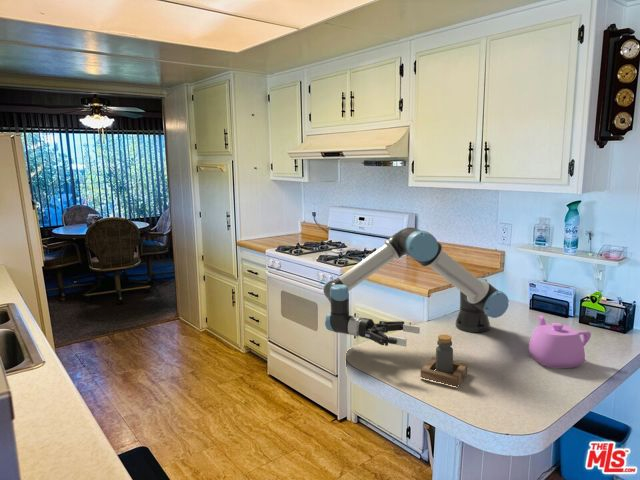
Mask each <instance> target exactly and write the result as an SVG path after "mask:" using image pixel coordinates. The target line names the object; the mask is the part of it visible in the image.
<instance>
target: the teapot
mask: <svg viewBox="0 0 640 480" xmlns="http://www.w3.org/2000/svg"><path fill="white" fill-rule="evenodd" d="M537 318H538V324H539V325H537V326H536V328H535V329H534V331H533V333H532V334H531V337H530V338H529V339H530V340H529V344H528V351H529V353H530V356H532V358H533V359H534V360H535V362H537V363H539V364H540V365H542V366H544V367H548V368H553V369H554V368H558V369H569V368H577V367H581V366H582V364H583V363H584V362H585V359H586V354H585V353H586V352H585V346H586V345H587V343H588V342H589V341H590V339H591V336H592V332H590V331H589V330H586V329H585V330H575V329H573V328H571V326H568V325H564V324H563V323H560V322H552V323H551V324H547V323H546V319H545V317H544V316H543V315H542V314H537ZM580 335H583V336H582V338H581V336H580Z"/></svg>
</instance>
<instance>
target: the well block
mask: <svg viewBox="0 0 640 480" xmlns="http://www.w3.org/2000/svg"><path fill="white" fill-rule="evenodd" d="M468 366H469V365H468V363H463V362H459V361H454V360H453V372H454V373H453V375H452V374H447V373H443V372H439V371H436V370H435V369H436V356H432V357H431V358H430V359H429V360H428V361H427V362H426V364H424V366H423V367H422V368H421V369H420V373H419V374H420V375H419V376H420V377H422V378H425V379H429V380H433V381H436V382H441V383H444V384H448V385H452V386H456V387H457V386H458V385H459V384H460V382H461V381H462V379H463V378H464V376H465V375H466V374H467V375H468V373H467V372H469V371H468V370H469V369H468V368H469V367H468ZM434 370H435V371H434ZM467 375H466V376H467ZM466 376H465V377H466ZM420 377H419V378H420ZM464 379H465V378H464ZM464 379H463V380H464ZM462 382H463V381H462ZM462 382H461V383H462ZM460 385H461V384H460ZM460 385H459V386H460Z"/></svg>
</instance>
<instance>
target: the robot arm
mask: <svg viewBox="0 0 640 480" xmlns="http://www.w3.org/2000/svg"><path fill="white" fill-rule="evenodd" d="M405 255H406V256H408V257H410V258H412V259H413V260H414V261H416V263H418V264H420V265H421V266H422V267H423V268H424V267H425V268H427V267H429V268H430V269H432V270H433V271H434V272H436V273H437V274H438V275H440V276H441V277H442V278H443V279H444V280H446V281H447V282H448V283H449V284H451V285H452V286H453V287H455V288H456V289H457V290H458V291H460V292H459V311H458V314H457V316H456V319H455V327H456V328H457V329H459V330H461V331H462V332H463V331H464V332H468V333H469V332H470V333H485V332H488V331H489V330H491V329H490V328H491V322H490V319H489V318H492V319H497V318H499V317H502V316H503V315H504V314H505V313H506V312H507V310H508V307H509V298H508V296H507V294H506V293H505V292H503V291H502V290H499V289H497V288H496V287H494V286H493V285H492V284H491V283H489V281H488V280H487V279H486V278H483V277H476V276H475V275H474V274H472V273H471V272H470V271H469V270H467V269H466V268H465V267H464V266H463V265H462V264H460V263H459V262H457V260H455V259H454V258H452V257H451V256H450V255H449V254H448V253H447V252H445V251H444V250H443V245H442V244H441V243H440V242H439V241H438V240H437V238H436V237H435V236H434V235H432V234H431V233H430V232H429V231H426V230H421V229H418V228H415V227H406V228H405V227H404V228H403V229H401V230H399V231H398V232H396V233H394V234H393V235H391V236H390V237H389V238H387V239H386V240H384V244H383V245H382V246H380V247H378V248H377V249H376V250H374V251H373V252H372V253H371V254H369V255H368V256H366V257H365V258H363V259H361V261H359V262H357V263H356V264H355V265H354V266H352V267H351V268H349V269H348V270H347V271H345V272H344V273H342V275H340V276H338V277H337V278H335V279H334V280H328V281H326V282H325V283H324V285H323V294H324V296H325V298H327V300H328V301H329V304H330V312H329V313H327V315H326V316H325V321H324V326H325V328H326V330H327V331H330V332H334V333H337V334H338V333H339V334H343V335H350V336H354V337H355V338H356V337H360V338H365V339H368V340H370V341H373V342H375V343H377V344H378V345H381V346H385V347H387V346H389V344H390V345H395V346H399V347H407V338H404V337H400V336H393V335H386V334H387V333H388V332H395V331H403V332H406V333H413V334H418V335H420V333H421V331H420V330H421V329H420V326H418V325H413V324H406V323H405V321H402V320H400V321H399V320H398V321H397V320H396V321H391V320H390V321H385V320H379V323H375V322H374V320H373V319H372V318H366V317H361V316H355V315H350V291H352V290H353V289H354V288H355V287H357V286H358V285H360V284H361V283H363V281H365V280H367V279H369V277H370V276H372V275H374V274H375V273H376V272H378V271H379V270H380V269H382V268H384V267H385V266H386V265H388V264H389V263H390V262H391V261H394V259H396V260H398V259H401V257H404V256H405Z"/></svg>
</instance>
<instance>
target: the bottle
mask: <svg viewBox="0 0 640 480" xmlns="http://www.w3.org/2000/svg"><path fill="white" fill-rule="evenodd" d="M437 339H438V340H437V342H436V343H437V346H436V348H435V357H436V370H435V371H439V372H443V373H447V374H452V375H453V374H454V373H453V361H454V348H452V345H453V341H452V336H451V335H449V334H443V333H442V334H439V335H438V336H437Z"/></svg>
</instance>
